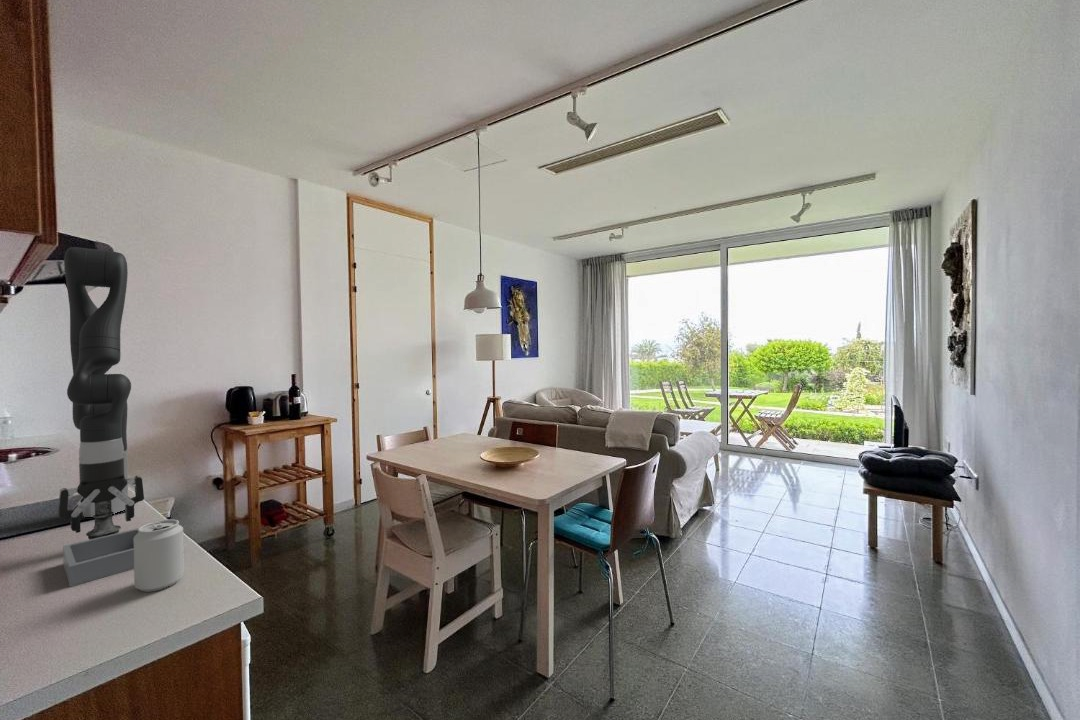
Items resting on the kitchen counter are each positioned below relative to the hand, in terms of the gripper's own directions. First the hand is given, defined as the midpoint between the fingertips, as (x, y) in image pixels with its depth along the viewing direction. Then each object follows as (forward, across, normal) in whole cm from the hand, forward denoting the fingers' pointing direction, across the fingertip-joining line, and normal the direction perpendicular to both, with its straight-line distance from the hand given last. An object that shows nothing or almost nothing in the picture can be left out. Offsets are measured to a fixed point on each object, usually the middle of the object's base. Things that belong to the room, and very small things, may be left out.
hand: (103, 526), depth 104 cm
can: (+5, -4, +32) cm, 33 cm away
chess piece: (+5, 0, 0) cm, 5 cm away
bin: (+5, 0, +13) cm, 14 cm away
